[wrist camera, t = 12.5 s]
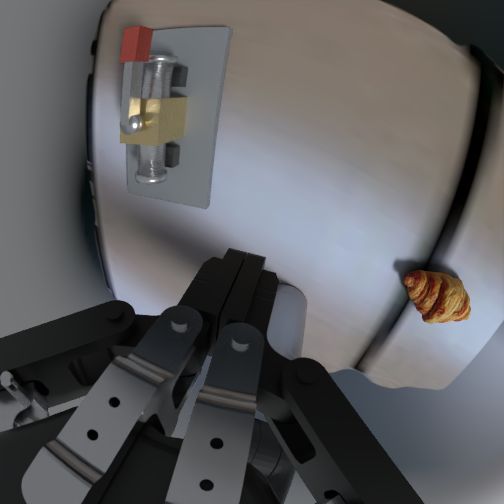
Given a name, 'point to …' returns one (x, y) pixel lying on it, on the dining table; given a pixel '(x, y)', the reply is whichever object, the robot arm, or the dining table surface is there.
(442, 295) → the croissant
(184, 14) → the dining table surface
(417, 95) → the dining table surface
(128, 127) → the lever
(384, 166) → the dining table surface
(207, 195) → the slate board
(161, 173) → the valve pipe
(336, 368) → the dining table surface
